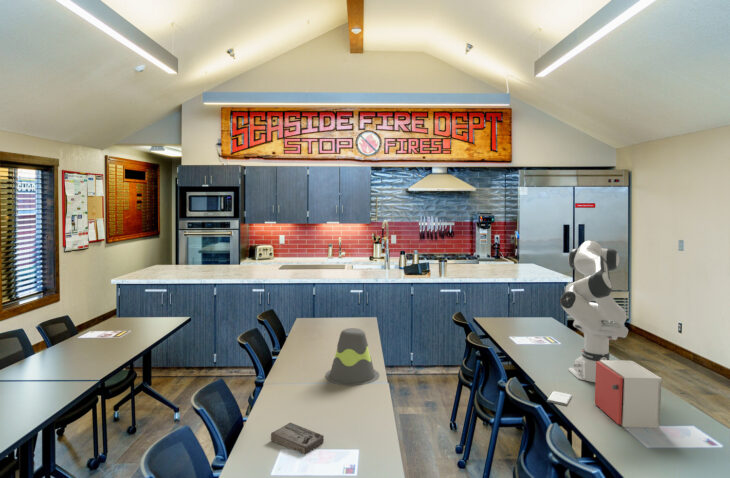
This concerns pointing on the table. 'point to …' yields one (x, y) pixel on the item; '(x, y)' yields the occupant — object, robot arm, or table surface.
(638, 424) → the cabinet
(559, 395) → the external hard drive
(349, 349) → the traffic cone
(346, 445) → the table surface
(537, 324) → the table surface
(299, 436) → the box
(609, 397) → the door
